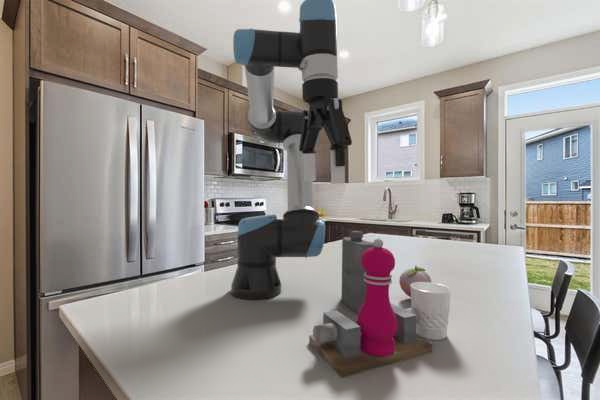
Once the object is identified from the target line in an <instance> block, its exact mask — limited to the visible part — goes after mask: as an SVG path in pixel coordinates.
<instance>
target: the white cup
mask: <svg viewBox="0 0 600 400" xmlns="http://www.w3.org/2000/svg"><path fill="white" fill-rule="evenodd" d="M451 291H452V289H451V288H450V287H448V286H447V285H443V284H441V283H435V282H432V281H431V282H415V283H412V284H411V297H410V304H411V305H410V308H415V309H416V310H417V311H418V313H419V316H420V319H419V322H418V323H416V335H417V336H419V337H420V338H422V339H425V340H426V339H427V340H430V341H441V340H445V339H446V338H447V335H448V324H449V319H450V318H449V315H450V308H451V307H450V305H451V304H450V302H451Z"/></svg>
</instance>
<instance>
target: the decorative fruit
mask: <svg viewBox="0 0 600 400" xmlns="http://www.w3.org/2000/svg"><path fill="white" fill-rule="evenodd" d="M398 282H399V286H400V289H401V290H402V291H403V293H404V294H405V296H408V297H409V298H411V284H412V283H415V282H431V283H432V279H431V276H430V275H429V274H428V272H427V271H426V269H425V268H424V267H419V266H417V265H415V267H414V268H409V269H406V270H404V271H402V273H401V274H400V276H399V280H398Z"/></svg>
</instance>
